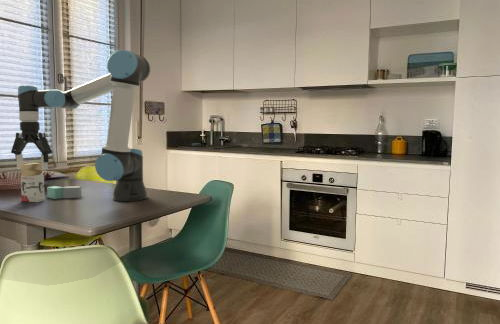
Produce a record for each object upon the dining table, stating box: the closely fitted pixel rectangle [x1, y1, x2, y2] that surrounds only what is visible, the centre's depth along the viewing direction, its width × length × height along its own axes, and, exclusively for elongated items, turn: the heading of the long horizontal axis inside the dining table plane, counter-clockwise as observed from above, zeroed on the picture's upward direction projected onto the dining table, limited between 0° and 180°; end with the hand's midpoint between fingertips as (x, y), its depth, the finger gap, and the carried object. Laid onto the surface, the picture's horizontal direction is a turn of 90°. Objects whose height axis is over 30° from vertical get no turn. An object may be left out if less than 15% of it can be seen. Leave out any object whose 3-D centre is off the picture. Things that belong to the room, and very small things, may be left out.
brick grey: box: [62, 185, 82, 199], centre depth 188 cm, size 7×4×5 cm, turn 98°
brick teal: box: [46, 185, 64, 200], centre depth 187 cm, size 7×4×5 cm, turn 53°
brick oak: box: [20, 162, 43, 176], centre depth 177 cm, size 7×4×5 cm, turn 162°
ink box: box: [20, 174, 46, 203], centre depth 178 cm, size 9×5×12 cm, turn 76°
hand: (32, 169), depth 177 cm, fingers open, 13 cm apart
